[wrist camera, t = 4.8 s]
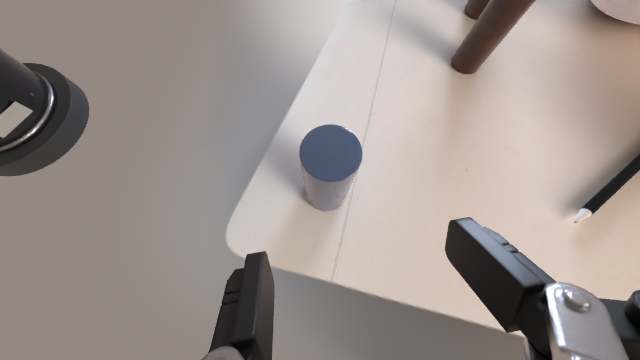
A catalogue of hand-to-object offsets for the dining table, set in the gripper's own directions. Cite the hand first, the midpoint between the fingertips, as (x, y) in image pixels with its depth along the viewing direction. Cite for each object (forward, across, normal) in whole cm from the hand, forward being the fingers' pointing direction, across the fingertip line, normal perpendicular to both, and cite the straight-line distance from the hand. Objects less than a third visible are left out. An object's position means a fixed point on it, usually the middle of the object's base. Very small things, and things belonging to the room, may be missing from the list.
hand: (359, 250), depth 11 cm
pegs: (+25, -21, -8) cm, 33 cm away
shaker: (+13, 0, +4) cm, 14 cm away
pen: (+11, -31, +6) cm, 33 cm away
